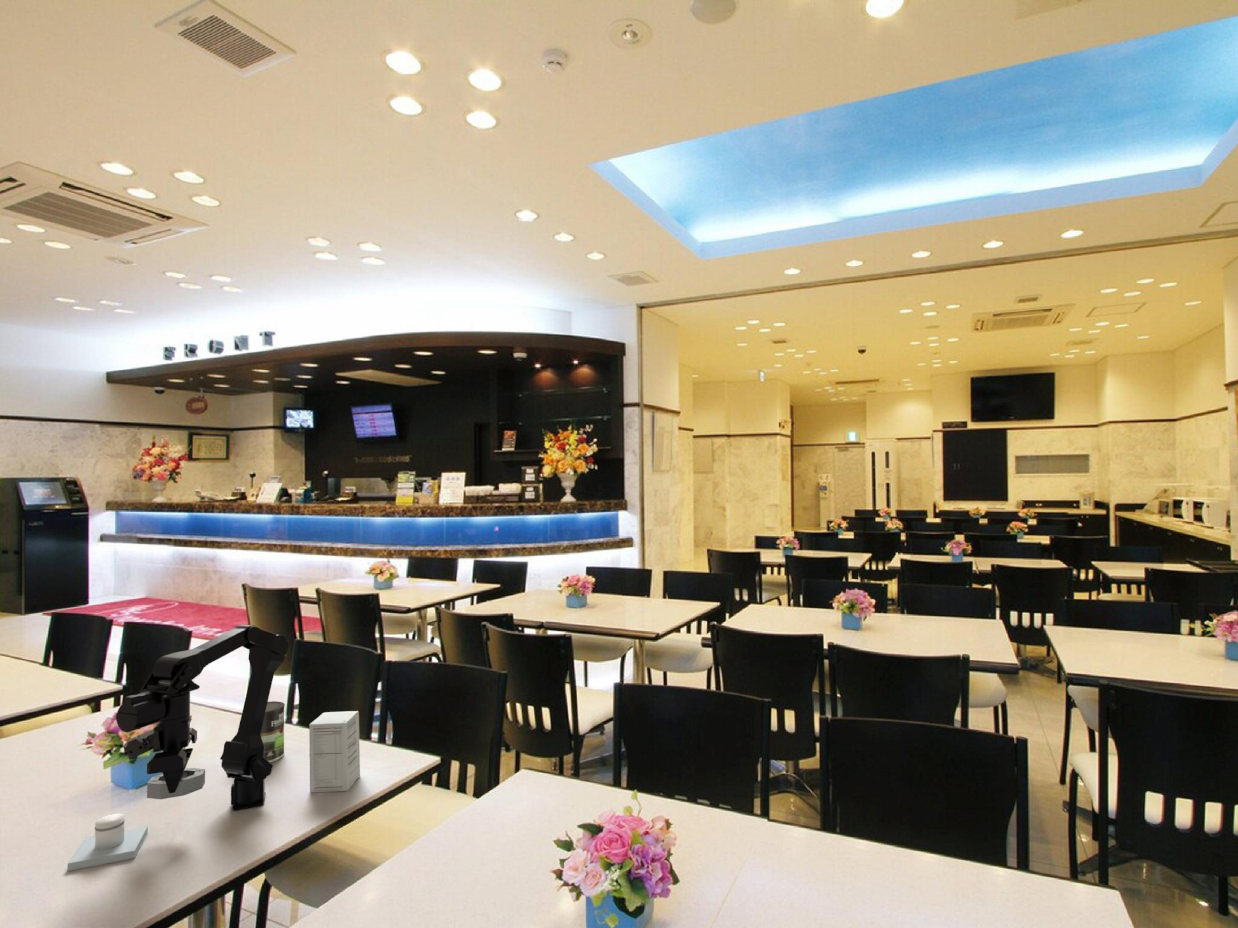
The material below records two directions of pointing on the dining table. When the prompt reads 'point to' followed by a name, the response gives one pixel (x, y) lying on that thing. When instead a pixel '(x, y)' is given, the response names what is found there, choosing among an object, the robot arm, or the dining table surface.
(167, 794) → the steel ring
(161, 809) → the dining table surface
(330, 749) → the supplement box
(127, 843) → the piston base
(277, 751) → the coffee can
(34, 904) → the dining table surface
